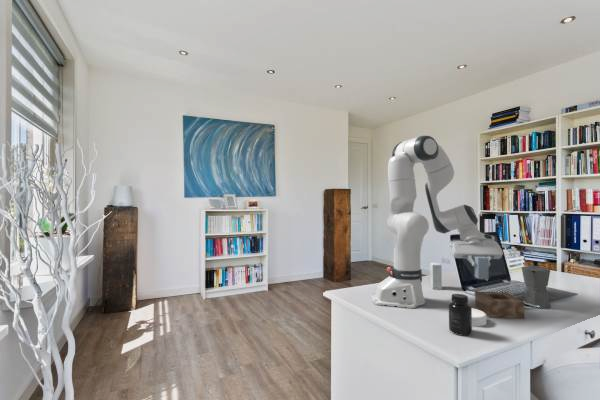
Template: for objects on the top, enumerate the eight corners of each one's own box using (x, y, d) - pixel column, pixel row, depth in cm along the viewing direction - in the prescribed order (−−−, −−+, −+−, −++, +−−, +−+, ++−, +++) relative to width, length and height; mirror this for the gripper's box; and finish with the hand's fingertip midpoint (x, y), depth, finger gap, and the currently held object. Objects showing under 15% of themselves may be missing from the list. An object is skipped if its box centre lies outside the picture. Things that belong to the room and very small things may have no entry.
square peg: (478, 279, 130) (478, 258, 130) (474, 276, 134) (474, 256, 134) (488, 279, 130) (488, 258, 130) (484, 277, 134) (484, 256, 134)
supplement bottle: (476, 335, 98) (476, 298, 98) (456, 336, 98) (456, 299, 98) (463, 326, 105) (463, 292, 105) (444, 327, 104) (444, 292, 104)
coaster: (458, 325, 107) (458, 315, 107) (452, 315, 116) (452, 306, 116) (490, 328, 104) (490, 318, 104) (481, 317, 114) (481, 308, 114)
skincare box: (442, 289, 148) (441, 265, 148) (432, 289, 149) (432, 264, 149) (439, 286, 154) (438, 262, 154) (430, 285, 155) (429, 262, 155)
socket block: (489, 317, 113) (488, 301, 113) (475, 306, 125) (475, 291, 125) (524, 318, 111) (524, 302, 111) (507, 307, 123) (506, 292, 123)
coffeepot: (549, 312, 117) (548, 265, 117) (519, 306, 124) (518, 262, 124) (552, 302, 128) (552, 259, 128) (525, 297, 135) (524, 256, 135)
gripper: (449, 235, 141) (457, 260, 131) (497, 236, 138) (509, 262, 128) (446, 243, 145) (454, 268, 135) (493, 244, 142) (504, 270, 133)
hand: (481, 265), depth 132 cm, fingers closed on square peg, 4 cm apart
